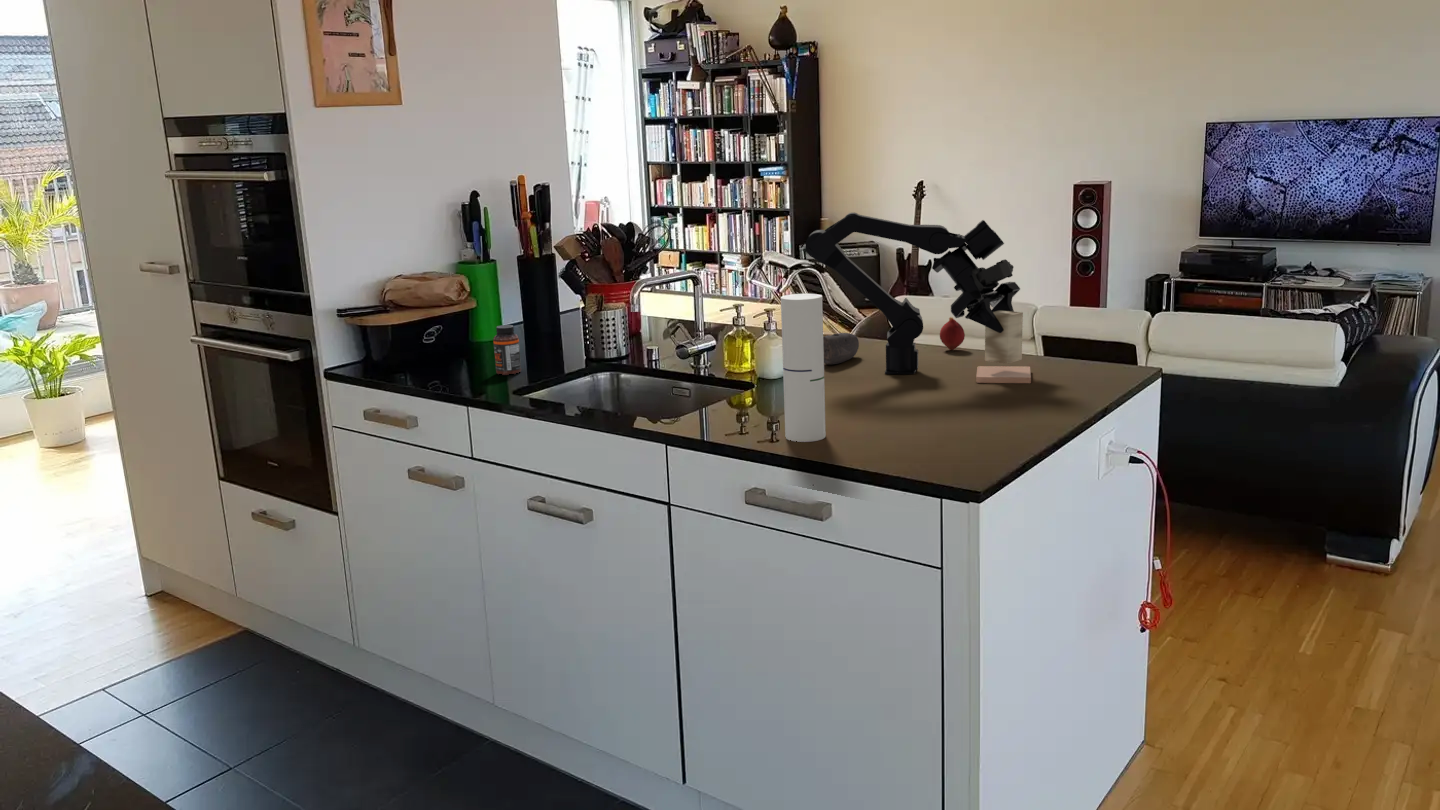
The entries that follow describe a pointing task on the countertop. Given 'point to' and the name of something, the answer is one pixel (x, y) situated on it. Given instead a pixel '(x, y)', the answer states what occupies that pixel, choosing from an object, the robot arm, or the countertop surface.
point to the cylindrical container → (803, 367)
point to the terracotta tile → (1003, 374)
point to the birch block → (1005, 338)
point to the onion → (952, 334)
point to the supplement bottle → (506, 350)
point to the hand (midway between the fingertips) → (1009, 329)
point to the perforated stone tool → (839, 347)
